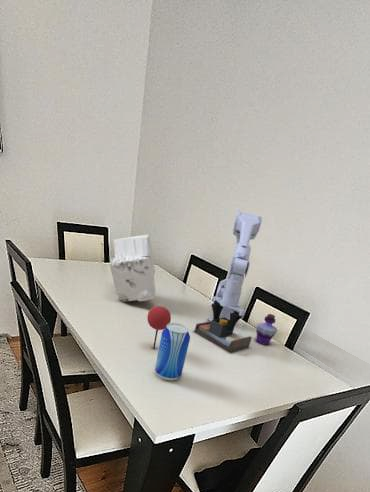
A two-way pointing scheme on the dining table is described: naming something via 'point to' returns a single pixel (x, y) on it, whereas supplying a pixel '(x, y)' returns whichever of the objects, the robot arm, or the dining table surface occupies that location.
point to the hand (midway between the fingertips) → (222, 326)
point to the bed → (223, 338)
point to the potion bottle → (266, 330)
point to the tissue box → (133, 268)
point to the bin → (220, 328)
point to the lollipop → (158, 319)
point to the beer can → (172, 351)
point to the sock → (223, 322)
